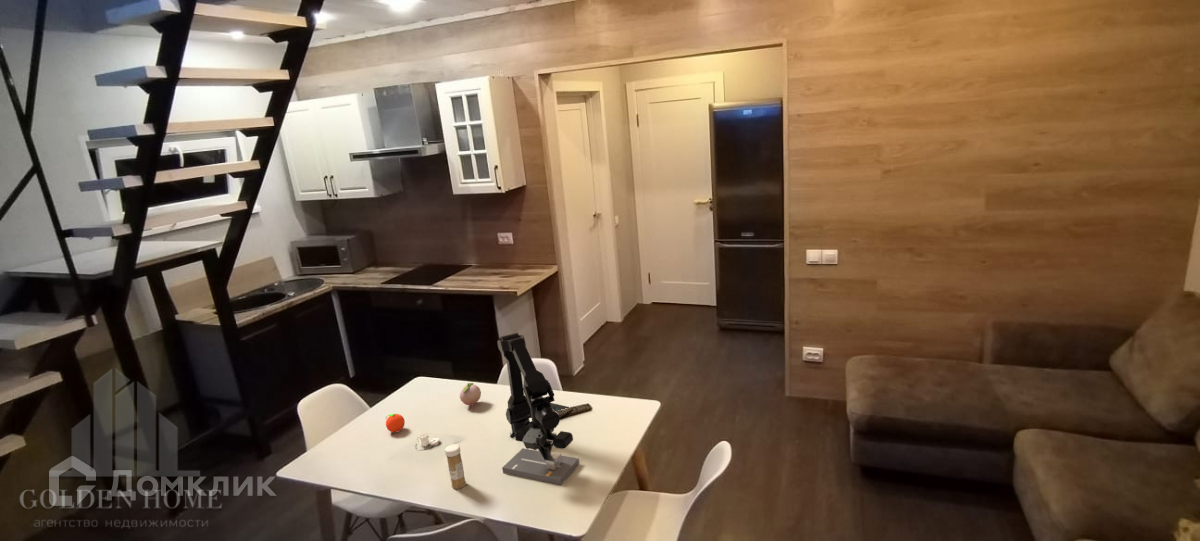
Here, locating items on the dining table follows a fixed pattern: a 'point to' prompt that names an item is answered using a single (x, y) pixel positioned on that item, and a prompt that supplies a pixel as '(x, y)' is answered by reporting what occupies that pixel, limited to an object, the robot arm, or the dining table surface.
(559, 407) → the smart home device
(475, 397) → the decorative fruit
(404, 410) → the dining table surface
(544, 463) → the board
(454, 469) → the sprinkles bottle
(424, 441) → the white charger with cable
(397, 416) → the clementine
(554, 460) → the fader tab
